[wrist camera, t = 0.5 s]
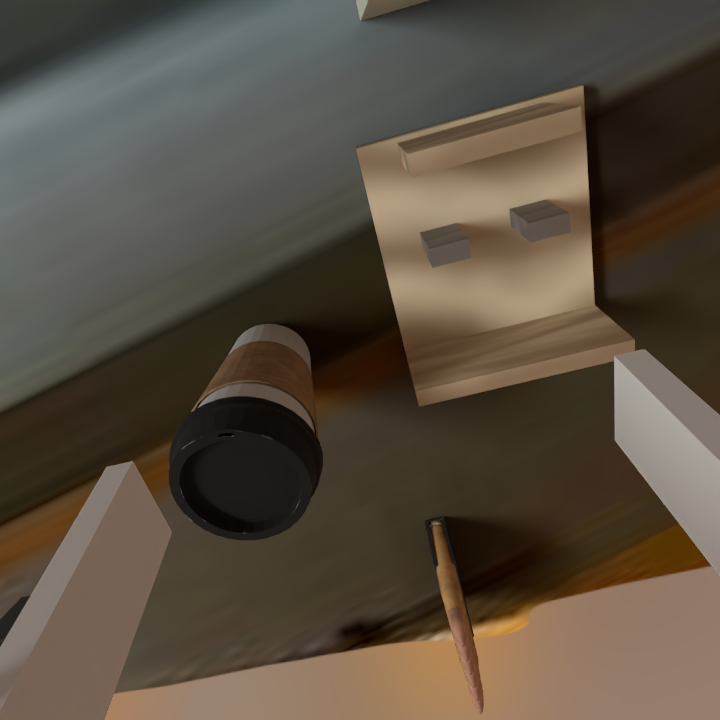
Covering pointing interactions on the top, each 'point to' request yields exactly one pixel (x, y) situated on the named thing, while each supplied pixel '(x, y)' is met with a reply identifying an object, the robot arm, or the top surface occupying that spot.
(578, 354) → the wooden shelf with pegs
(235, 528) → the coffee cup
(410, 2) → the beige rectangular block
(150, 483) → the top surface
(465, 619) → the ammunition clip
